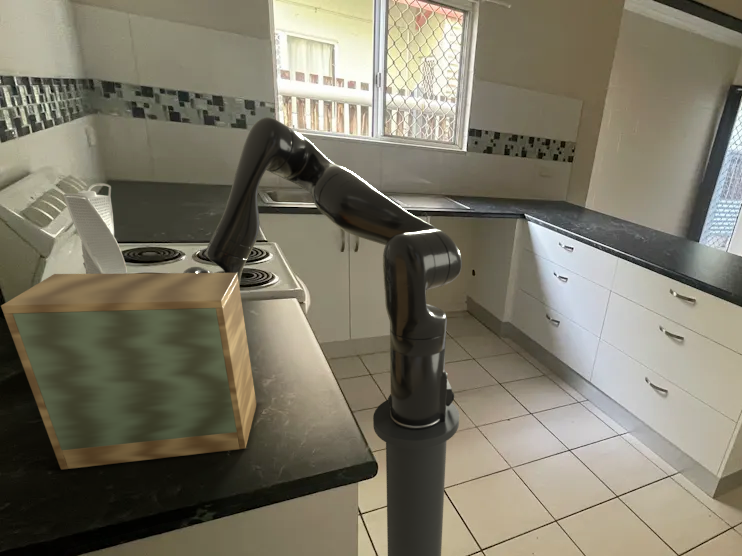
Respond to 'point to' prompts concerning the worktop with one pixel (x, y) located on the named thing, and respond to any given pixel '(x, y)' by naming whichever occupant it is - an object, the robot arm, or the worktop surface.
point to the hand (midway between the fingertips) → (157, 366)
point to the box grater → (96, 231)
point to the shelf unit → (136, 364)
